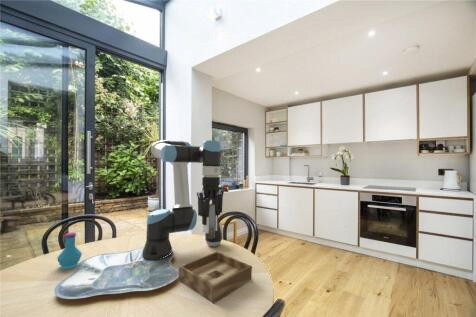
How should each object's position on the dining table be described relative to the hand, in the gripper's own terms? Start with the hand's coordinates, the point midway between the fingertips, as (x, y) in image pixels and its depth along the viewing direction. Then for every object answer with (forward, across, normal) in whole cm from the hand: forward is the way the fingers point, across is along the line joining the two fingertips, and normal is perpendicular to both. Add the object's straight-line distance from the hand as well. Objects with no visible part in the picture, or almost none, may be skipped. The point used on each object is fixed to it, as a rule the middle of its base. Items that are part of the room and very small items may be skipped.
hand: (210, 231), depth 94 cm
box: (+21, +2, -1) cm, 21 cm away
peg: (+3, 0, 0) cm, 3 cm away
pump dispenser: (+21, +28, +30) cm, 46 cm away
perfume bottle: (+21, -39, +57) cm, 72 cm away
